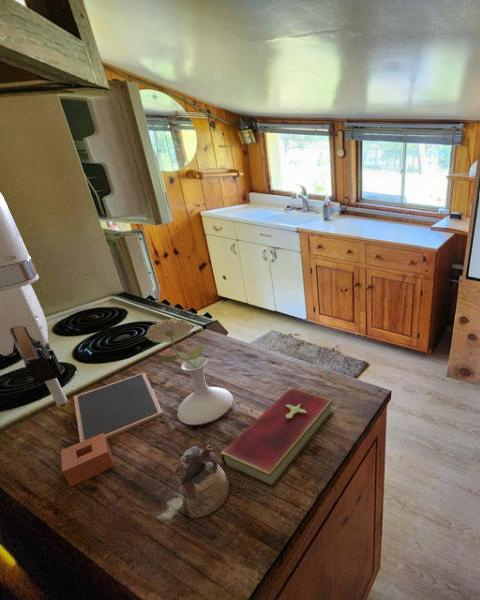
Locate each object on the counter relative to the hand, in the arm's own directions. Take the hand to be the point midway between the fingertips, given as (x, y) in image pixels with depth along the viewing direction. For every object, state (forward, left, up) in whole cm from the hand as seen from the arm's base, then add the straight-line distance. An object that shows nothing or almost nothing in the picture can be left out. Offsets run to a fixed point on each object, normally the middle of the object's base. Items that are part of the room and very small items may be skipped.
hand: (48, 375), depth 55 cm
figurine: (+14, -23, -21) cm, 34 cm away
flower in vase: (+20, 0, -21) cm, 29 cm away
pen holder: (0, -1, -21) cm, 21 cm away
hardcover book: (+30, -19, -21) cm, 41 cm away
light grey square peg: (0, 0, -7) cm, 7 cm away
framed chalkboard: (+6, +15, -21) cm, 26 cm away
